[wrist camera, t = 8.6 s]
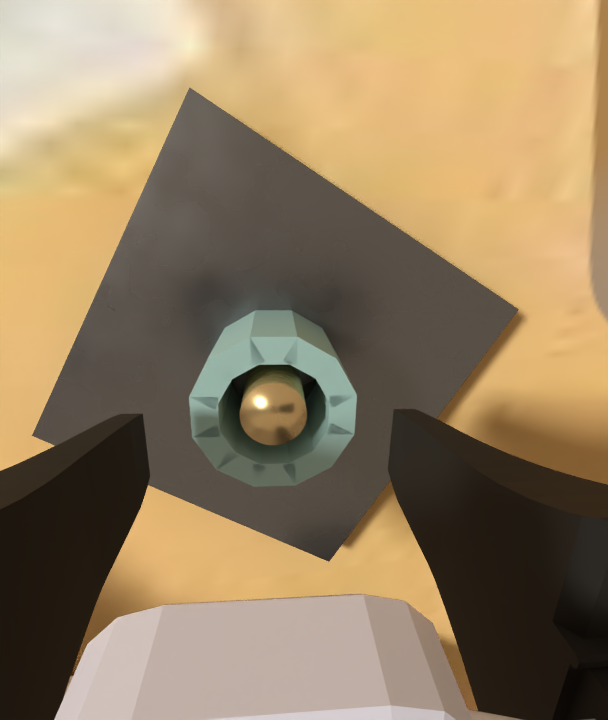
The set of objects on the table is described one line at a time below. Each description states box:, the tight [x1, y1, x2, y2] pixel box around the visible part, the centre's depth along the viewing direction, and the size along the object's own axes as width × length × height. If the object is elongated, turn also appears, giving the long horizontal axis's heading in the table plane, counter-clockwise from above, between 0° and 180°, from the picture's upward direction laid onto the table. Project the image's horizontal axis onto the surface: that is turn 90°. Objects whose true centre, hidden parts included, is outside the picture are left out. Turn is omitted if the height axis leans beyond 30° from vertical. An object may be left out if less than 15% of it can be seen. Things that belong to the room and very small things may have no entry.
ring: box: [189, 310, 357, 487], centre depth 15 cm, size 5×5×4 cm
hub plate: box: [32, 88, 519, 561], centre depth 16 cm, size 15×15×6 cm
